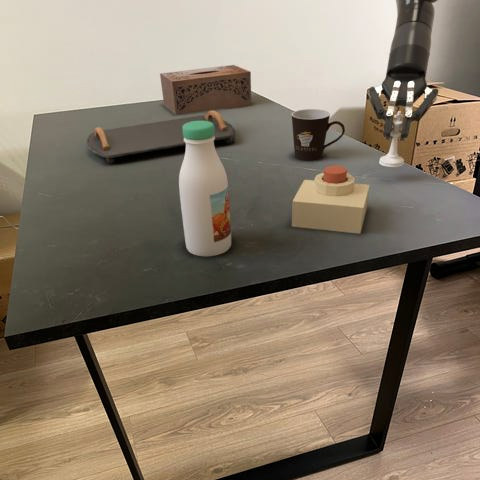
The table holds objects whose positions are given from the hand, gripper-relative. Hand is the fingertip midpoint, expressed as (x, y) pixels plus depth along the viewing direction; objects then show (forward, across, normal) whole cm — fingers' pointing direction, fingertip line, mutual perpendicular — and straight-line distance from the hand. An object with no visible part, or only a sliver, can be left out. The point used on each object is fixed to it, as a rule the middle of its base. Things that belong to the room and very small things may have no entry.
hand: (395, 138), depth 91 cm
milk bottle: (+30, -27, -16) cm, 44 cm away
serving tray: (-5, -59, +19) cm, 62 cm away
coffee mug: (-2, -18, +16) cm, 24 cm away
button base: (+20, -9, -6) cm, 22 cm away
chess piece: (+2, 0, +6) cm, 6 cm away
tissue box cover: (-33, -62, +48) cm, 85 cm away
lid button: (+14, -9, -9) cm, 19 cm away
